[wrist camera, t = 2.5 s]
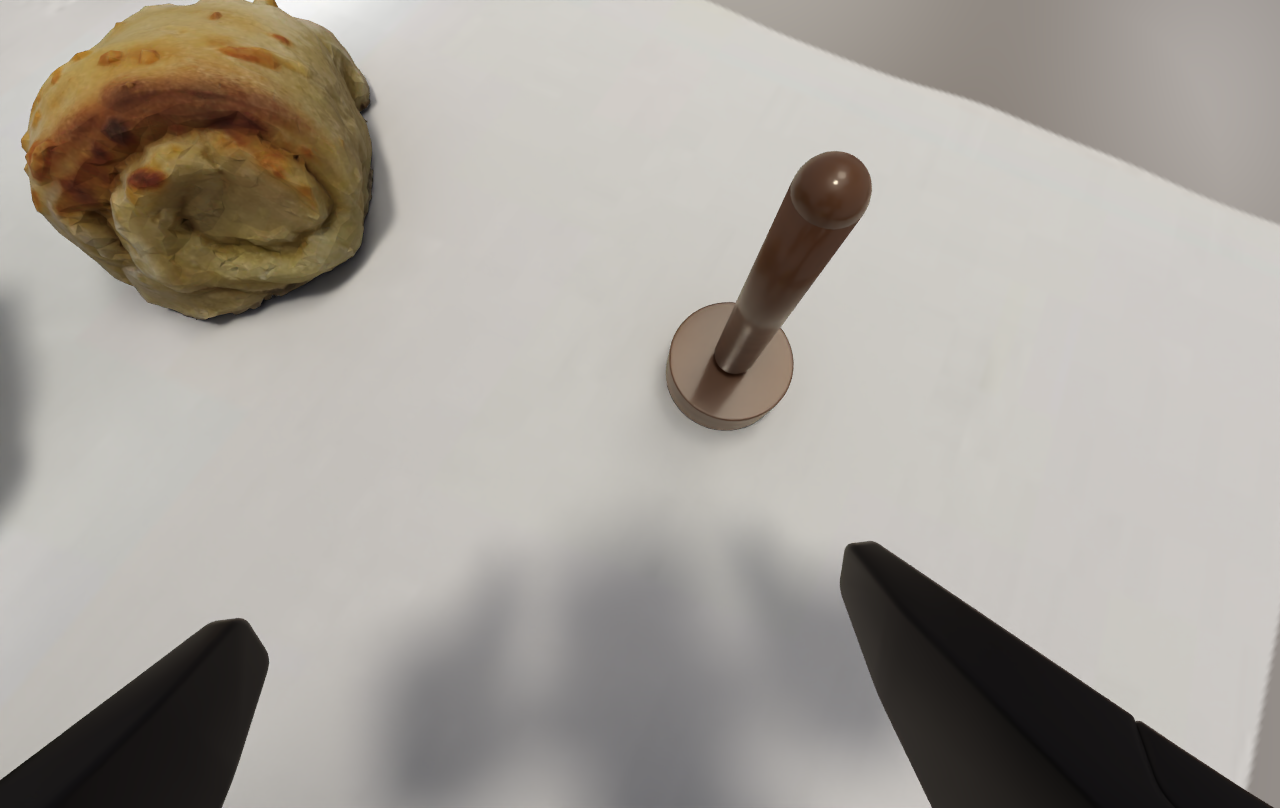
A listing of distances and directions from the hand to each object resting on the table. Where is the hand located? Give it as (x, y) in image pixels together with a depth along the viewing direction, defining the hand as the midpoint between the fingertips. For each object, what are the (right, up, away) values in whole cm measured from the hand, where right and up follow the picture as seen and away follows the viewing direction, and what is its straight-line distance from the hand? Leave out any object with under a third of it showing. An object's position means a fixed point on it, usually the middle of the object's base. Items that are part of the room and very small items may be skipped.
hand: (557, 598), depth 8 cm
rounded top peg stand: (+5, +4, +15) cm, 17 cm away
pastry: (-16, +13, +17) cm, 27 cm away
